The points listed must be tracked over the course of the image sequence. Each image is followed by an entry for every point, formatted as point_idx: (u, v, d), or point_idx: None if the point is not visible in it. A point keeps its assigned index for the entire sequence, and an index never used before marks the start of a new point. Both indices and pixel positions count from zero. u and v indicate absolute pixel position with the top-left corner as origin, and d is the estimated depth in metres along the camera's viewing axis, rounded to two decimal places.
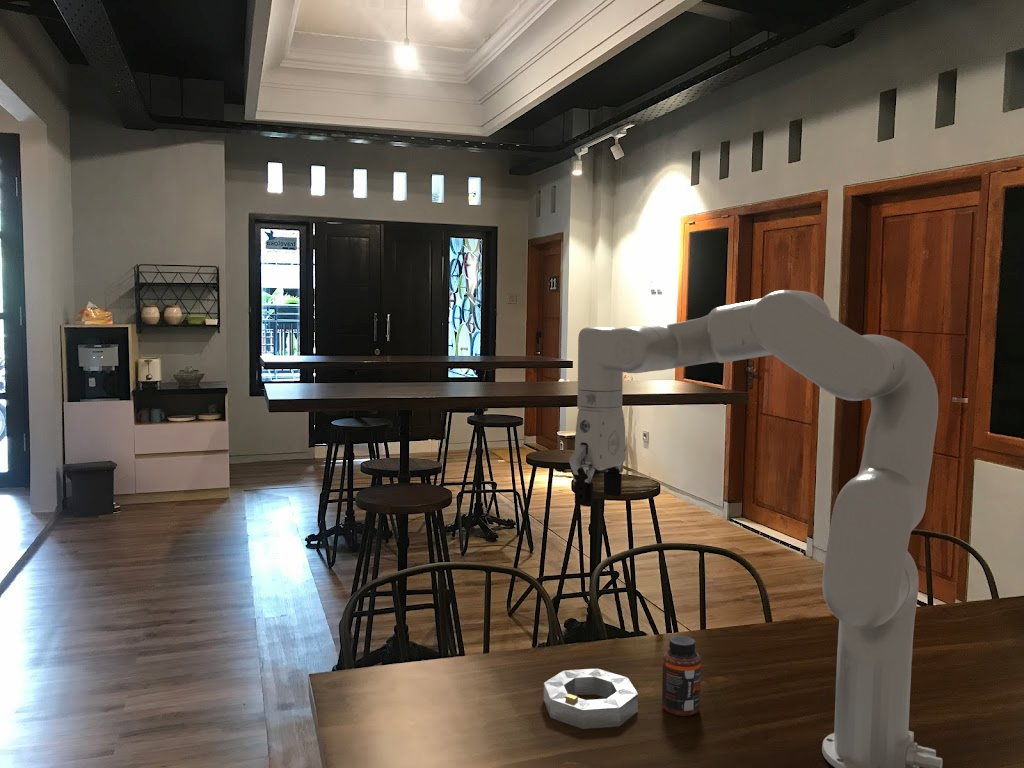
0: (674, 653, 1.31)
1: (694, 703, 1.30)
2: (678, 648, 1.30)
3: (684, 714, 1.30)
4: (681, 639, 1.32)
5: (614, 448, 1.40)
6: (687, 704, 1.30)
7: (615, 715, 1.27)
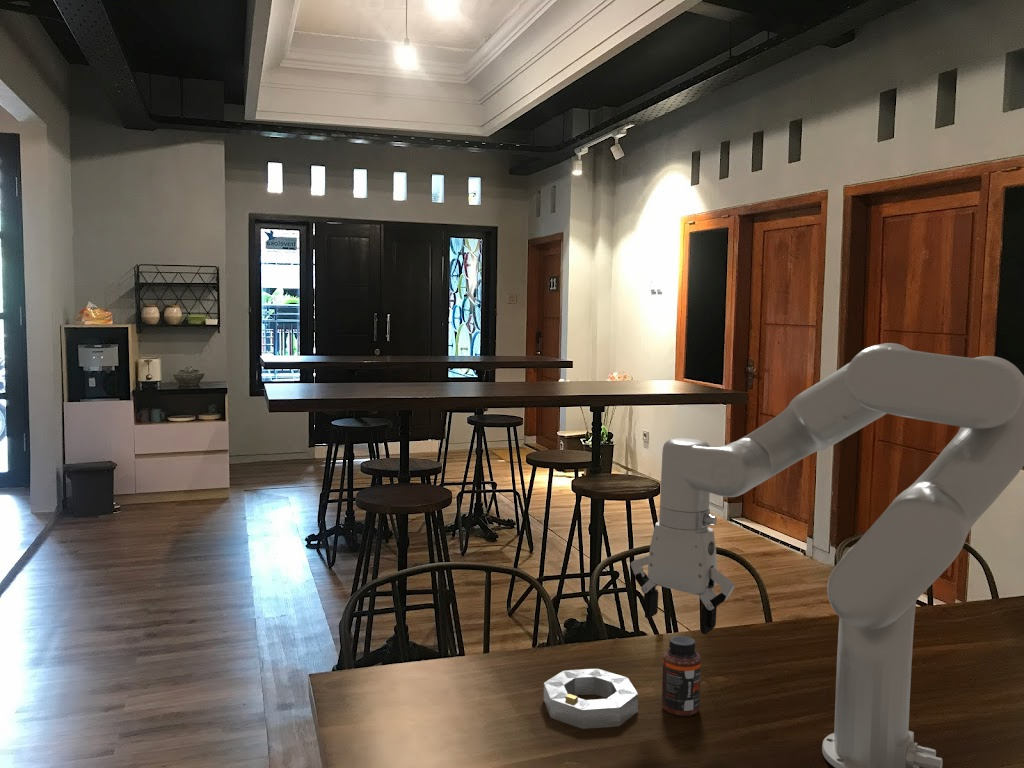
0: (674, 653, 1.31)
1: (694, 703, 1.30)
2: (679, 648, 1.30)
3: (684, 714, 1.30)
4: (681, 639, 1.32)
5: None
6: (687, 704, 1.30)
7: (615, 715, 1.27)
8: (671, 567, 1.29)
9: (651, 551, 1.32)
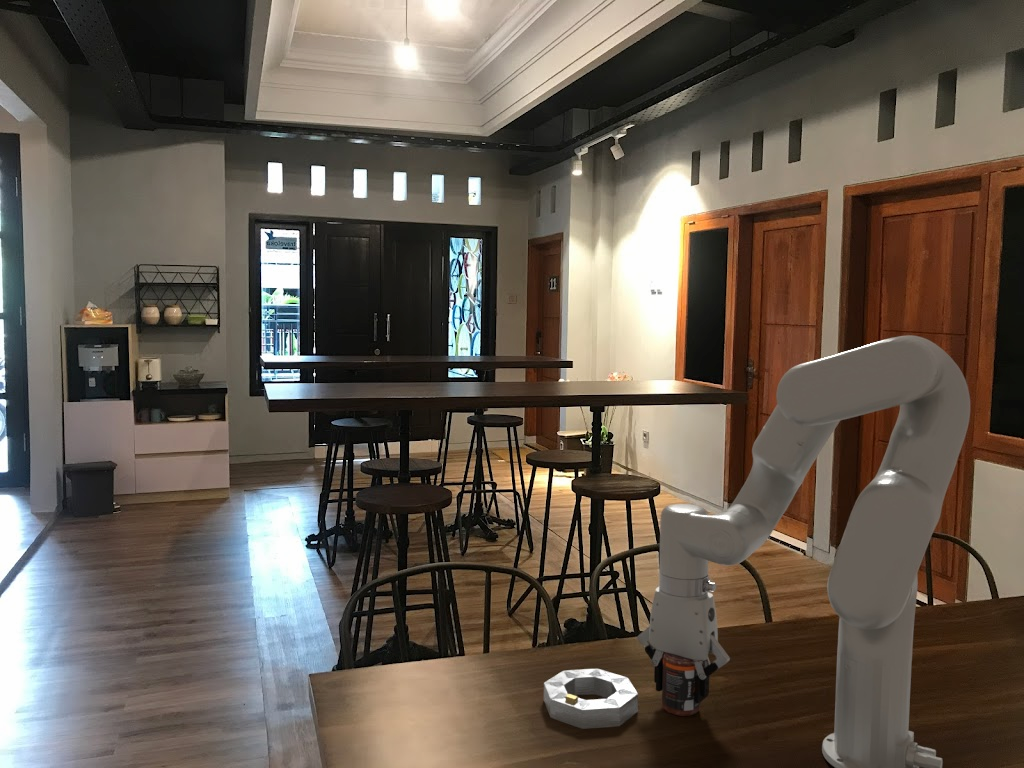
0: None
1: (694, 703, 1.30)
2: None
3: (684, 714, 1.30)
4: None
5: None
6: (687, 704, 1.30)
7: (615, 715, 1.27)
8: (672, 633, 1.30)
9: (652, 617, 1.32)
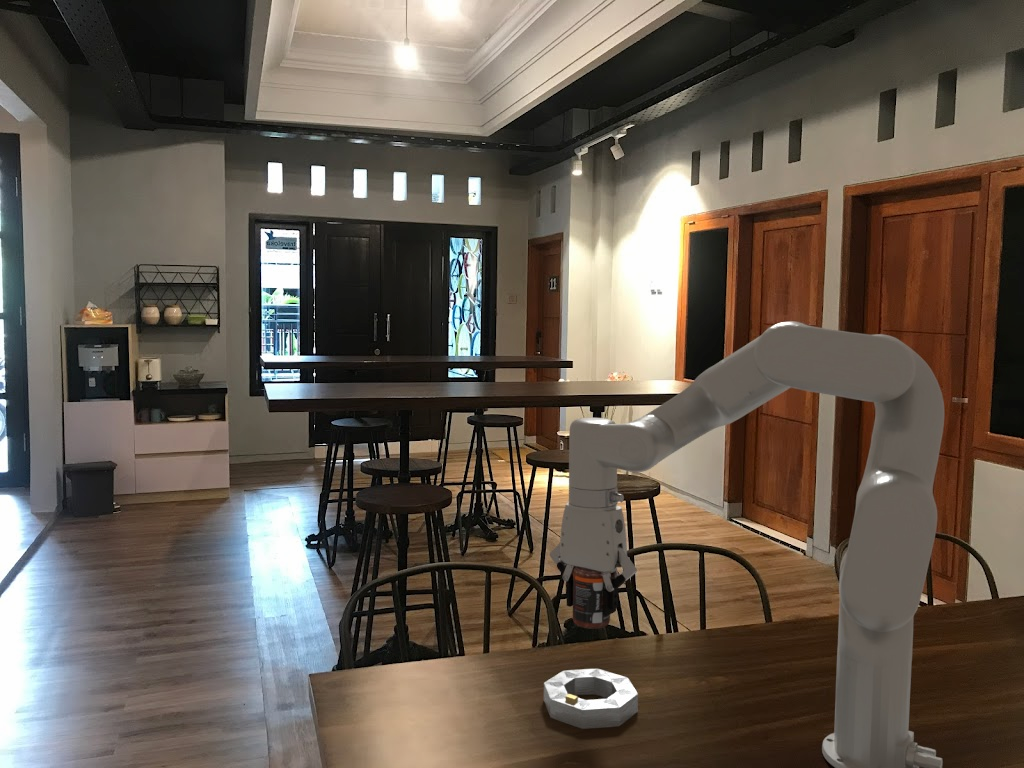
0: None
1: (603, 616, 1.30)
2: None
3: (592, 627, 1.29)
4: None
5: None
6: (595, 617, 1.29)
7: (615, 715, 1.27)
8: (581, 546, 1.30)
9: (562, 531, 1.32)
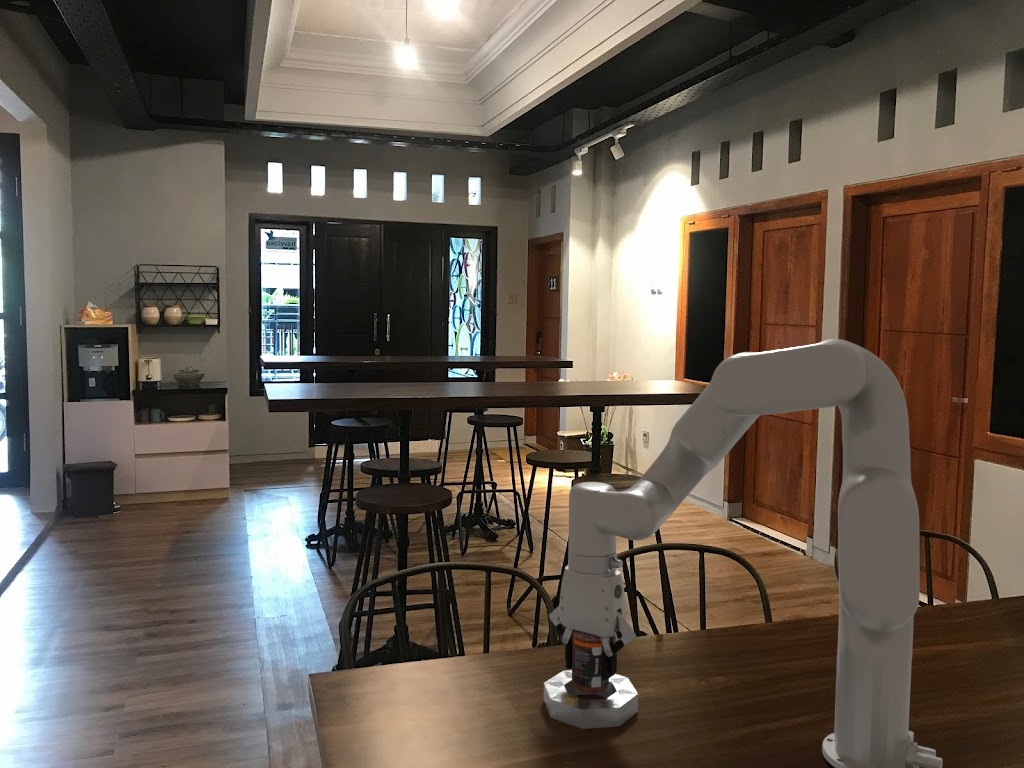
0: None
1: (602, 680, 1.31)
2: None
3: (591, 691, 1.30)
4: None
5: None
6: (594, 681, 1.30)
7: (615, 715, 1.27)
8: (580, 611, 1.30)
9: (561, 595, 1.33)
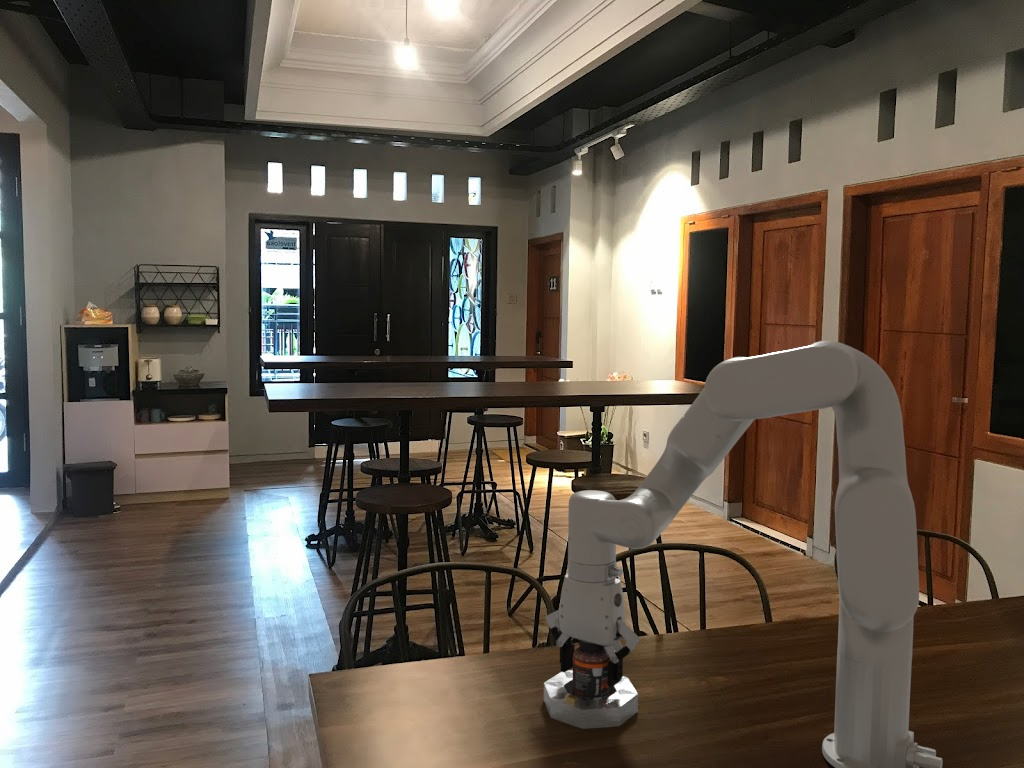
0: (582, 651, 1.31)
1: None
2: (587, 646, 1.31)
3: None
4: None
5: None
6: None
7: (615, 715, 1.27)
8: (580, 619, 1.31)
9: (561, 603, 1.33)
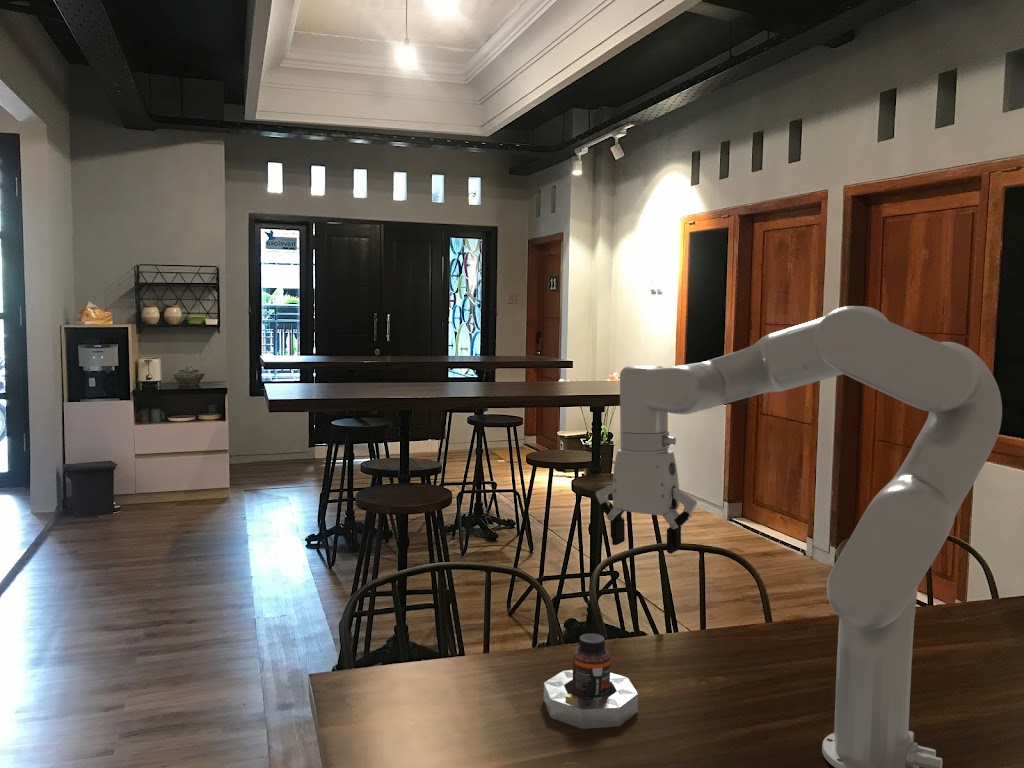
0: (583, 651, 1.31)
1: None
2: (587, 646, 1.31)
3: None
4: (591, 637, 1.33)
5: None
6: None
7: (615, 715, 1.27)
8: (634, 490, 1.32)
9: (614, 477, 1.34)
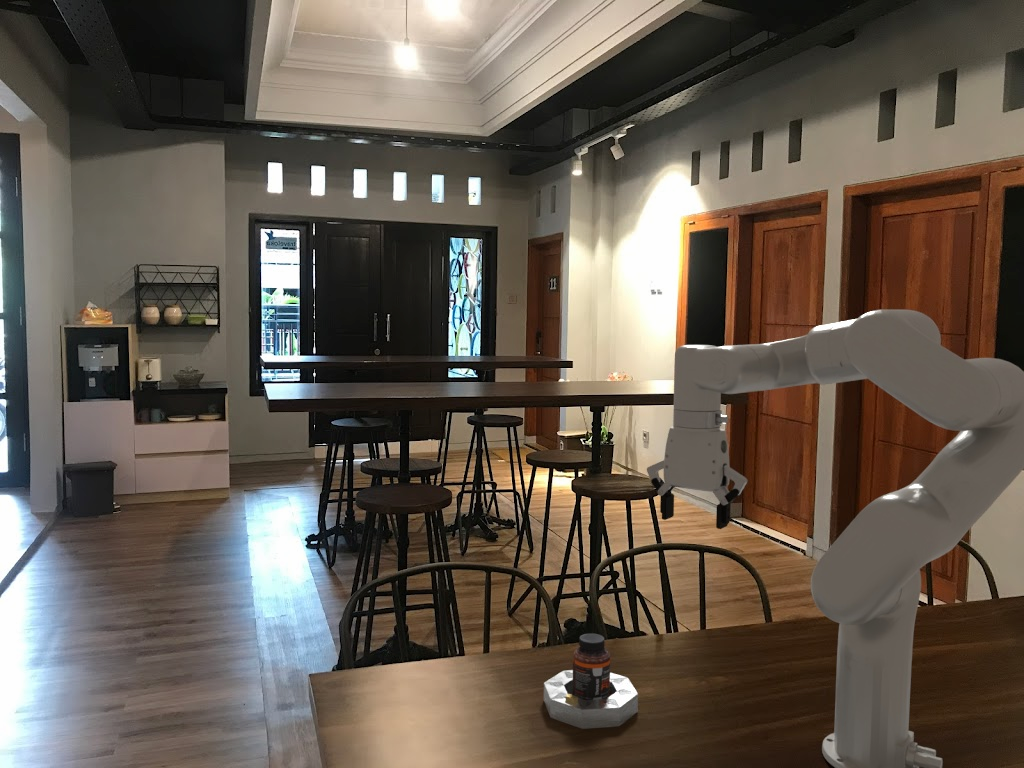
0: (582, 651, 1.31)
1: None
2: (587, 646, 1.31)
3: None
4: (591, 637, 1.33)
5: None
6: None
7: (615, 715, 1.27)
8: (686, 467, 1.35)
9: (666, 454, 1.38)
